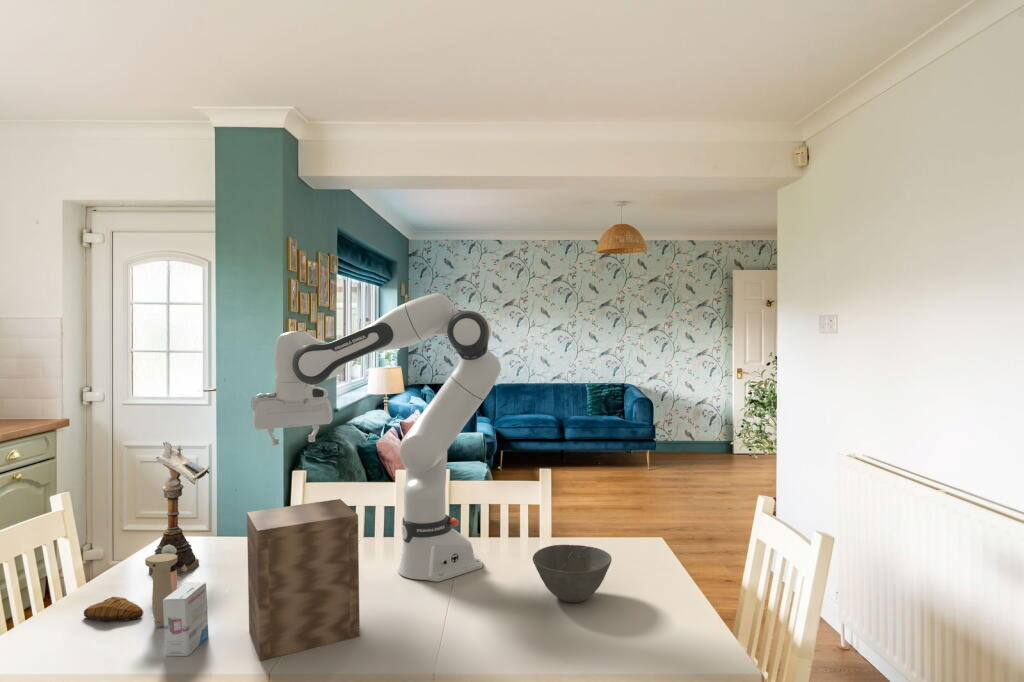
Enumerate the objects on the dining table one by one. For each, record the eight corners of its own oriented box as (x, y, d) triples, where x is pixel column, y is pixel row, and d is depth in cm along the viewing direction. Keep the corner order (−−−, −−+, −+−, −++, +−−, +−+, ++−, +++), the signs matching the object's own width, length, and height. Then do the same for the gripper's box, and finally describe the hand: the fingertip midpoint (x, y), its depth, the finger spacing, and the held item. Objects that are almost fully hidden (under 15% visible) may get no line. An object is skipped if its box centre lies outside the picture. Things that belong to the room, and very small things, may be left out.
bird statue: (224, 557, 184) (223, 434, 183) (207, 575, 171) (205, 443, 170) (163, 559, 183) (162, 435, 182) (141, 577, 170) (139, 443, 169)
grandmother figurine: (154, 603, 155) (153, 550, 154) (150, 598, 158) (149, 546, 157) (189, 594, 160) (188, 543, 159) (185, 589, 163) (183, 539, 162)
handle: (169, 630, 141) (167, 562, 140) (142, 629, 142) (140, 560, 141) (183, 620, 146) (181, 554, 145) (157, 618, 147) (155, 553, 146)
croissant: (73, 624, 144) (73, 602, 144) (95, 611, 151) (94, 589, 151) (131, 626, 143) (131, 604, 143) (151, 612, 150) (150, 591, 150)
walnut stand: (341, 610, 150) (340, 498, 150) (359, 636, 138) (358, 514, 137) (249, 631, 140) (246, 512, 140) (259, 661, 128) (257, 530, 127)
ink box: (186, 635, 139) (184, 580, 138) (209, 636, 139) (208, 581, 138) (163, 656, 130) (162, 598, 130) (188, 656, 130) (186, 598, 130)
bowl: (620, 589, 162) (620, 549, 161) (597, 621, 145) (597, 577, 144) (550, 576, 170) (550, 538, 169) (520, 606, 152) (520, 563, 152)
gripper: (253, 395, 166) (254, 449, 166) (333, 390, 176) (334, 441, 176) (249, 392, 171) (250, 445, 172) (327, 388, 181) (328, 437, 182)
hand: (293, 443), depth 174 cm, fingers open, 8 cm apart
